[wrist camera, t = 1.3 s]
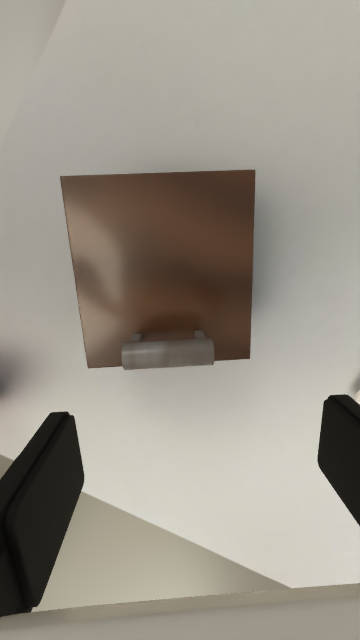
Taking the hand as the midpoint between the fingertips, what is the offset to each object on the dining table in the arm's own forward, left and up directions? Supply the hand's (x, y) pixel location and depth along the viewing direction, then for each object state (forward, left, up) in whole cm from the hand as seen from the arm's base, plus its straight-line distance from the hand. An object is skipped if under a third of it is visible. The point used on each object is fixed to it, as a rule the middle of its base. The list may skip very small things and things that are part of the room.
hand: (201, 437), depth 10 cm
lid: (-1, +5, -13) cm, 14 cm away
